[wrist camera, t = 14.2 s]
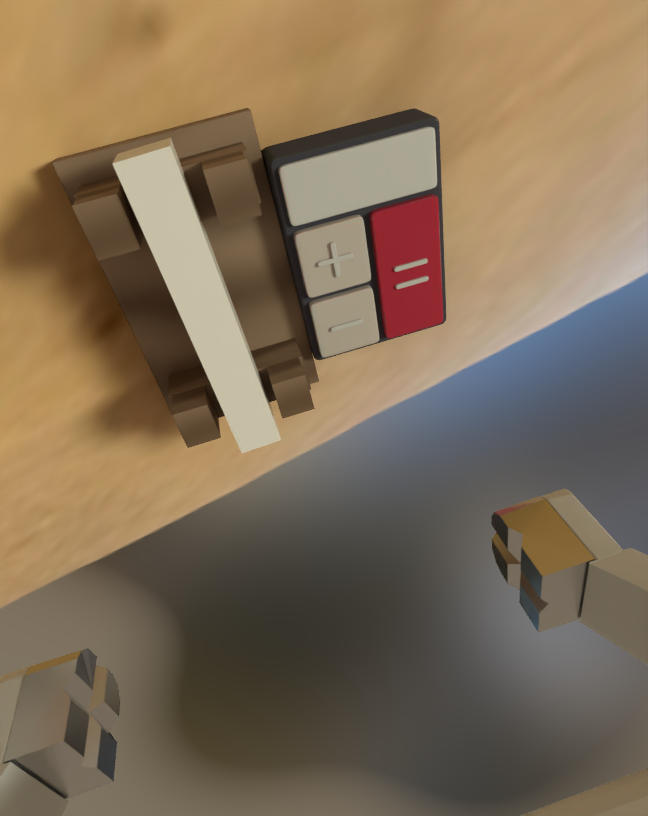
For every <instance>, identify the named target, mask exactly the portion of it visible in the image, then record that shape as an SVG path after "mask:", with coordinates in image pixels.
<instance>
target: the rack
mask: <svg viewBox="0 0 648 816" xmlns="http://www.w3.org/2000/svg"><path fill="white" fill-rule="evenodd" d="M168 138H171V140H172V142H173V145H174V148H175V150H176V153H177V156H178V158H179V161H180V164H181V166H182V169H183V172H184V174H185V177H186V180H187V183H188V185H189V188H190V191H191V193H192V196H193V199H194V201H195V204H196V207H197V209H198V212H199V215H200V217H201V220H202V223H203V225H204V228H205V231H206V233H207V236H208V239H209V241H210V244H211V247H212V249H213V252H214V255H215V258H216V260H217V263H218V266H219V268H220V271H221V274H222V276H223V279H224V282H225V284H226V287H227V290H228V292H229V295H230V298H231V300H232V303H233V306H234V308H235V311H236V314H237V316H238V319H239V322H240V324H241V327H242V330H243V333H244V335H245V338H246V341H247V343H248V346H249V349H250V351H251V354H252V357H253V359H254V362H255V365H256V367H257V370H258V373H259V375H260V378H261V381H262V383H263V386H264V389H265V391H266V394H267V397H268V399H269V402H271V401H275V400H277V403H278V406H279V409H280V412H281V416H282V419H283V418H286V417H289V416H292V415H296V414H299V413H302V412H305V411H309V410H312V409H314V406H313V402H312V398H311V394H310V391H309V390H311V387H310V384H312V383H315V382H318V381H319V379H318V376H317V372H316V368H315V364H314V360H313V356H312V352H311V348H310V344H309V340H308V336H307V332H306V328H305V324H304V320H303V316H302V312H301V308H300V304H299V300H298V296H297V292H296V288H295V285H294V281H293V277H292V273H291V269H290V265H289V261H288V257H287V253H286V249H285V245H284V241H283V237H282V233H281V229H280V225H279V221H278V217H277V213H276V209H275V205H274V201H273V197H272V193H271V190H270V186H269V182H268V178H267V174H266V170H265V166H264V162H263V158H262V154H261V150H260V146H259V142H258V138H257V134H256V130H255V126H254V122H253V118H252V114H251V110H250V109H248V108H246V109H242V110H238V111H234V112H230V113H227V114H223V115H219V116H215V117H212V118H208V119H204V120H200V121H197V122H193V123H189V124H185V125H182V126H178V127H174V128H170V129H167V130H163V131H159V132H155V133H151V134H148V135H144V136H140V137H136V138H133V139H129V140H125V141H121V142H118V143H114V144H110V145H106V146H103V147H99V148H95V149H91V150H88V151H84V152H80V153H76V154H73V155H69V156H65V157H61V158H57V159H56V160H55V161H54V162H53V163H52V164H53V166H54V168H55V170H56V172H57V175H58V177H59V179H60V181H61V183H62V185H63V187H64V189H65V191H66V193H67V195H68V197H69V200H70V202H71V204H72V208H73V210H74V212H75V214H76V216H77V218H78V220H79V222H80V225H81V227H82V229H83V231H84V233H85V235H86V237H87V239H88V241H89V243H90V245H91V247H92V249H93V252H94V254H95V256H96V258H97V260H98V261H99V262H100V264H101V266H102V268H103V270H104V273H105V275H106V277H107V279H108V281H109V283H110V285H111V287H112V289H113V291H114V293H115V295H116V298H117V300H118V302H119V304H120V306H121V308H122V310H123V312H124V314H125V316H126V318H127V321H128V323H129V325H130V327H131V329H132V331H133V333H134V335H135V337H136V339H137V341H138V343H139V346H140V348H141V350H142V352H143V354H144V356H145V358H146V360H147V362H148V364H149V366H150V368H151V371H152V373H153V375H154V377H155V379H156V381H157V383H158V385H159V387H160V389H161V391H162V394H163V396H164V398H165V400H166V402H167V404H168V406H169V408H170V410H171V412H172V416H173V418H174V420H175V422H176V424H177V426H178V428H179V430H180V433H181V435H182V437H183V439H184V441H185V443H186V445H187V447H188V448H189V447H192V446H195V445H199V444H202V443H205V442H208V441H212V440H215V439H218V438H221V437H220V429H219V420H218V418H219V417H222V416H225V415H224V412H223V410H222V408H221V406H220V403H219V401H218V399H217V397H216V395H215V392H214V390H213V388H212V386H211V383H210V381H209V379H208V377H207V374H206V372H205V370H204V368H203V365H202V363H201V361H200V359H199V356H198V354H197V352H196V350H195V348H194V345H193V343H192V341H191V339H190V336H189V334H188V332H187V330H186V327H185V325H184V323H183V321H182V318H181V316H180V314H179V312H178V310H177V307H176V305H175V303H174V301H173V298H172V296H171V294H170V292H169V289H168V287H167V285H166V283H165V280H164V278H163V276H162V274H161V272H160V269H159V267H158V265H157V263H156V260H155V258H154V256H153V254H152V251H151V249H150V247H149V245H148V242H147V240H146V238H145V236H144V234H143V231H142V229H141V227H140V225H139V222H138V220H137V218H136V216H135V213H134V211H133V209H132V207H131V204H130V202H129V200H128V198H127V196H126V193H125V191H124V189H123V187H122V184H121V182H120V180H119V178H118V175H117V173H116V171H115V169H114V166H113V164H112V163H113V161H114V160H115V158H116V156H117V154H119V153H122V152H125V151H128V150H132V149H135V148H138V147H141V146H145V145H148V144H151V143H155V142H158V141H161V140H164V139H168Z"/></svg>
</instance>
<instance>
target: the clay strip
mask: <svg viewBox="0 0 648 816" xmlns="http://www.w3.org/2000/svg"><path fill="white" fill-rule="evenodd" d="M112 164H113V166H114V169H115V171H116V173H117V175H118V178H119V180H120V182H121V184H122V187H123V189H124V191H125V193H126V196H127V198H128V200H129V202H130V204H131V207H132V209H133V211H134V213H135V216H136V218H137V220H138V222H139V225H140V227H141V229H142V231H143V234H144V236H145V238H146V240H147V242H148V245H149V247H150V249H151V251H152V254H153V256H154V258H155V260H156V263H157V265H158V267H159V269H160V272H161V274H162V276H163V278H164V280H165V283H166V285H167V287H168V289H169V292H170V294H171V296H172V298H173V301H174V303H175V305H176V307H177V310H178V312H179V314H180V316H181V318H182V321H183V323H184V325H185V327H186V330H187V332H188V334H189V336H190V339H191V341H192V343H193V345H194V348H195V350H196V352H197V354H198V356H199V359H200V361H201V363H202V365H203V368H204V370H205V372H206V374H207V377H208V379H209V381H210V383H211V386H212V388H213V390H214V392H215V395H216V397H217V399H218V401H219V403H220V406H221V408H222V410H223V412H224V415H225V417H226V419H227V421H228V424H229V426H230V428H231V430H232V433H233V435H234V437H235V439H236V441H237V444H238V446H239V448H240V450H241V453H244V452H247V451H250V450H253V449H256V448H259V447H262V446H265V445H268V444H271V443H274V442H277V441H280V440H281V437H280V434H279V430H278V426H277V423H276V419H275V416H274V413H273V410H272V408H271V405H270V402H269V399H268V397H267V394H266V391H265V389H264V386H263V383H262V381H261V378H260V375H259V373H258V370H257V367H256V365H255V362H254V359H253V357H252V354H251V351H250V349H249V346H248V343H247V341H246V338H245V335H244V333H243V330H242V327H241V324H240V322H239V319H238V316H237V314H236V311H235V308H234V306H233V303H232V300H231V298H230V295H229V292H228V290H227V287H226V284H225V282H224V279H223V276H222V274H221V271H220V268H219V266H218V263H217V260H216V258H215V255H214V252H213V249H212V247H211V244H210V241H209V239H208V236H207V233H206V231H205V228H204V225H203V223H202V220H201V217H200V215H199V212H198V209H197V207H196V204H195V201H194V199H193V196H192V193H191V191H190V188H189V185H188V183H187V180H186V177H185V174H184V172H183V169H182V166H181V164H180V161H179V158H178V156H177V153H176V150H175V148H174V145H173V142H172V140H171V138H168V139H164V140H161V141H158V142H155V143H151V144H148V145H145V146H141V147H138V148H135V149H132V150H128V151H125V152H122V153H119V154H117V156H116V158H115V160H114V161H113V163H112Z"/></svg>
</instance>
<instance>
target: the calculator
mask: <svg viewBox="0 0 648 816" xmlns="http://www.w3.org/2000/svg"><path fill="white" fill-rule="evenodd" d="M262 158H263V162H264V166H265V170H266V174H267V178H268V182H269V186H270V190H271V193H272V197H273V201H274V205H275V209H276V213H277V217H278V221H279V225H280V229H281V233H282V237H283V241H284V245H285V249H286V253H287V257H288V261H289V265H290V269H291V273H292V277H293V281H294V285H295V288H296V292H297V296H298V300H299V304H300V308H301V312H302V316H303V320H304V324H305V328H306V332H307V336H308V340H309V344H310V348H311V351H312V353H313V356H314V358H315V359H317V360H322V359H325V358H329V357H332V356H336V355H339V354H342V353H346V352H349V351H353V350H356V349H359V348H363V347H366V346H370V345H373V344H376V343H380V342H383V341H386V340H390V339H393V338H397V337H400V336H403V335H407V334H410V333H414V332H417V331H420V330H424V329H427V328H431V327H434V326H437V325H440V324H443V323H444V322H445V321H446V297H445V269H444V242H443V214H442V187H441V160H440V132H439V121H438V119H437V118H436V117H434V116H432V115H429V114H427V113H425V112H422V111H420V110H417V109H409V110H405V111H402V112H398V113H394V114H390V115H386V116H383V117H379V118H375V119H371V120H367V121H364V122H360V123H356V124H352V125H348V126H345V127H341V128H337V129H333V130H329V131H325V132H322V133H318V134H314V135H310V136H306V137H303V138H299V139H295V140H291V141H287V142H284V143H280V144H276V145H272V146H269V147H266V148H264V149H263V151H262Z"/></svg>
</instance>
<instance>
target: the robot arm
mask: <svg viewBox="0 0 648 816" xmlns="http://www.w3.org/2000/svg"><path fill="white" fill-rule="evenodd" d="M491 525H492V526H493V528H494V530H495V531H496V534H495V535H494V537H493V538H492V551H493V554H494V557H495V560H496V563H497V565H498V567H499V570H500V572H501V574H502V575H503V577H504V579H505V580H506V582H507V583H508V584H509V585H511V586H513V587H515V588H517V589H519V590H520V604H521V606H522V608H523V609H524V611H525V612H526V614H527V615H528V617H529V619H530V620H531V622H532V623H533V625H534V627H535V628H536V630H537V631H538V632H541V631H544V630H547V629H550V628H553V627H557V626H560V625H563V624H566V623H569V622H572V621H576V620H579V619H580V622H581V623H583V624H584V625H586V626H588V627H589V628H590V629H592V630H594V631H595V632H597V633H598V634H600V635H601V636H603V637H604V638H606V639H608V640H609V641H611V642H612V643H614V644H615V645H617V646H618V647H620V648H622V649H623V650H625V651H626V652H628V653H629V654H631V655H632V656H634V657H635V658H637V659H638V660H640V661H642V662H643V663H645V664H646V665H648V555H646V554H643V553H641V552H639V551H636V550H634V549H631V548H630V549H626V550H623V549H622V548H621V547H620V546H619V545H618V544H617V543H616V542H615V540H614V539H613V538H612V537H611V536H610V535H609V534H608V533H607V532H606V530H605V529H603V527H602V526H601V525H600V524H599V523H598V522H597V521H596V519H595V518H594V517H593V516H592V515H591V514H590V513H589V512H588V511H587V510H586V508H585V507H584V506H582V504H581V503H580V502H579V501H578V500H577V498H576V497H575V496H574V495H573V494H572V493H571V492H570V491H568V490H566V489H561V490H558V491H555V492H552V493H550V494H547V495H544V496H541V497H536V498H533V499H530V500H527V501H524V502H521V503H518V504H516V505H513V506H510V507H507V508H504V509H501V510H499V511H496V512H494V513H493V514H492V516H491ZM96 660H97V656H96V655H95V654H94V653H93V652H92V651H91V650H89V649H88V648H87V649H84V650H81V651H78V652H74V653H71V654H68V655H65V656H62V657H58V658H55V659H52V660H49V661H46V662H42V663H39V664H36V665H32V666H29V667H26V668H23V669H20V670H17V671H14V672H11V673H8V674H5V675H3V676H2V677H1V679H0V816H61V815H62V814H63V812H64V810H65V808H66V806H67V804H68V801H67V799H69V798H72V797H74V796H77V795H80V794H82V793H85V792H88V791H90V790H93V789H96V788H98V787H101V786H103V785H106V784H109V783H111V782H114V771H115V760H116V748H117V741H116V740H115V739H114V737H113V736H112V734H111V733H110V731H111V730H112V728H113V726H114V725H115V723H116V721H117V720H118V718H119V712H120V696H119V689H118V684H117V682H116V680H115V677H114V675H113V674H112V673H111V672H110V670H109V669H108V668H104V667H100V666H96ZM522 816H648V768H646V769H644V770H641V771H638V772H636V773H633V774H630V775H628V776H625V777H623V778H620V779H617V780H615V781H612V782H609V783H606V784H604V785H601V786H598V787H596V788H593V789H590V790H588V791H585V792H582V793H580V794H578V795H574V796H572V797H569V798H566V799H564V800H561V801H559V802H556V803H553V804H550V805H548V806H545V807H543V808H540V809H538V810H535V811H532V812H529V813H527V814H524V815H522Z"/></svg>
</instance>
